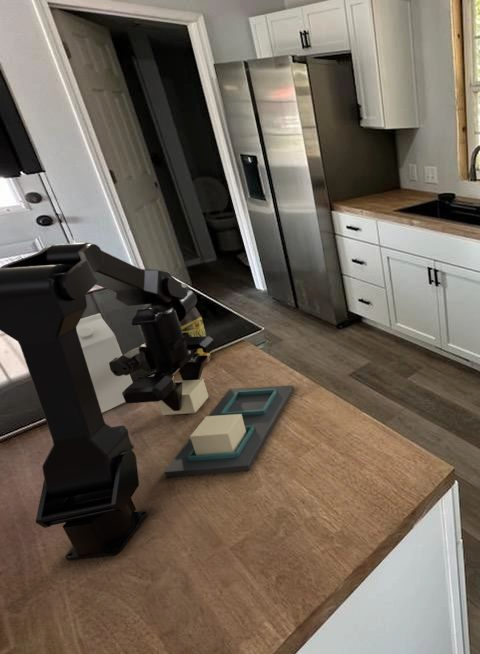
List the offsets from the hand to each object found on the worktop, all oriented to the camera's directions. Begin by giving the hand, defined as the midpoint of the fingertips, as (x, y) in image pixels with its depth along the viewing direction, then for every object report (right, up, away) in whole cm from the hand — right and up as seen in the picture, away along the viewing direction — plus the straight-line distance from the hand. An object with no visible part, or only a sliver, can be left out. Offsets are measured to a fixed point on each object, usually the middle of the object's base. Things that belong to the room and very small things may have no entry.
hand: (185, 401), depth 84 cm
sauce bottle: (-9, +4, +15) cm, 18 cm away
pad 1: (0, -1, 0) cm, 1 cm away
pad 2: (+15, -5, -10) cm, 18 cm away
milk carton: (-17, -1, +2) cm, 18 cm away
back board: (+14, -4, -4) cm, 15 cm away
